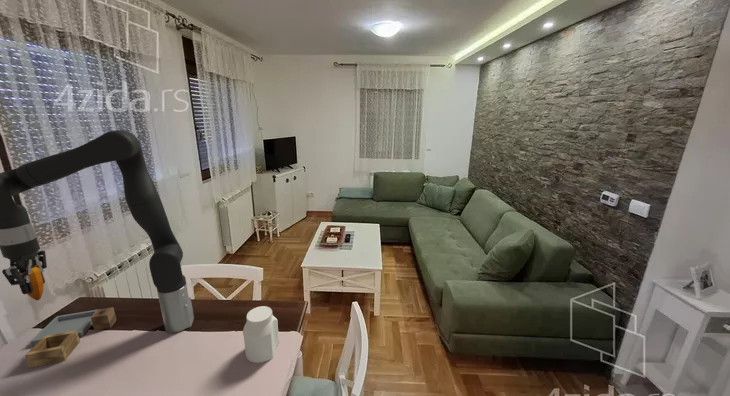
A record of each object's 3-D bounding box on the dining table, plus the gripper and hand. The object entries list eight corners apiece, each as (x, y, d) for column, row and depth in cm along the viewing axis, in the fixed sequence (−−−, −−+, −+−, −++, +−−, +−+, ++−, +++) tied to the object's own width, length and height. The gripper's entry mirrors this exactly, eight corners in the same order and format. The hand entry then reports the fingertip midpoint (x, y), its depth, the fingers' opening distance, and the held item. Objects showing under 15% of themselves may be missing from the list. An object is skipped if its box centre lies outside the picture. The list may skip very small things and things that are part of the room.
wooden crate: (80, 341, 103) (76, 330, 102) (65, 360, 95) (61, 348, 94) (47, 347, 100) (43, 336, 99) (29, 367, 92) (24, 355, 91)
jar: (256, 337, 107) (252, 302, 103) (281, 338, 106) (279, 303, 102) (242, 362, 95) (237, 324, 91) (270, 364, 95) (266, 326, 91)
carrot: (34, 305, 89) (19, 262, 85) (22, 303, 90) (6, 261, 86) (53, 296, 94) (40, 255, 90) (42, 294, 95) (28, 253, 91)
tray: (101, 313, 118) (100, 309, 118) (82, 337, 106) (81, 332, 105) (57, 321, 114) (56, 316, 113) (32, 346, 101) (30, 341, 100)
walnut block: (116, 319, 115) (113, 306, 113) (110, 328, 110) (107, 314, 109) (101, 322, 113) (97, 309, 112) (94, 331, 109) (90, 317, 107)
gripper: (16, 247, 81) (34, 299, 86) (49, 229, 94) (63, 275, 99) (-21, 250, 79) (0, 304, 83) (19, 232, 92) (35, 279, 96)
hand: (34, 288), depth 91 cm, fingers closed on carrot, 4 cm apart
